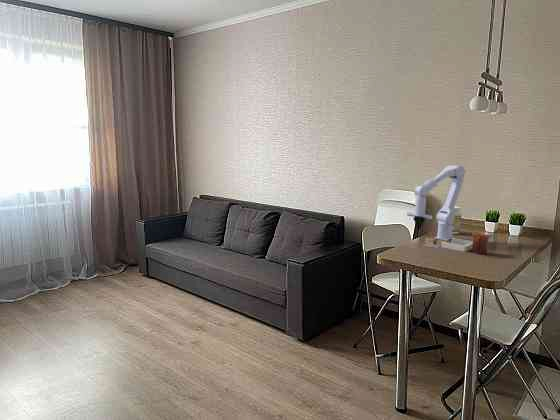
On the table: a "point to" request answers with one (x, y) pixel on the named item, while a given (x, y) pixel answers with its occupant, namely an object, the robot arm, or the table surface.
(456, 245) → the frame
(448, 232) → the robot arm
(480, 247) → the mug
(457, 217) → the supplement tub
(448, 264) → the table surface
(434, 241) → the tile rear
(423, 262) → the table surface
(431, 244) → the slate coaster
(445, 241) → the tile front
